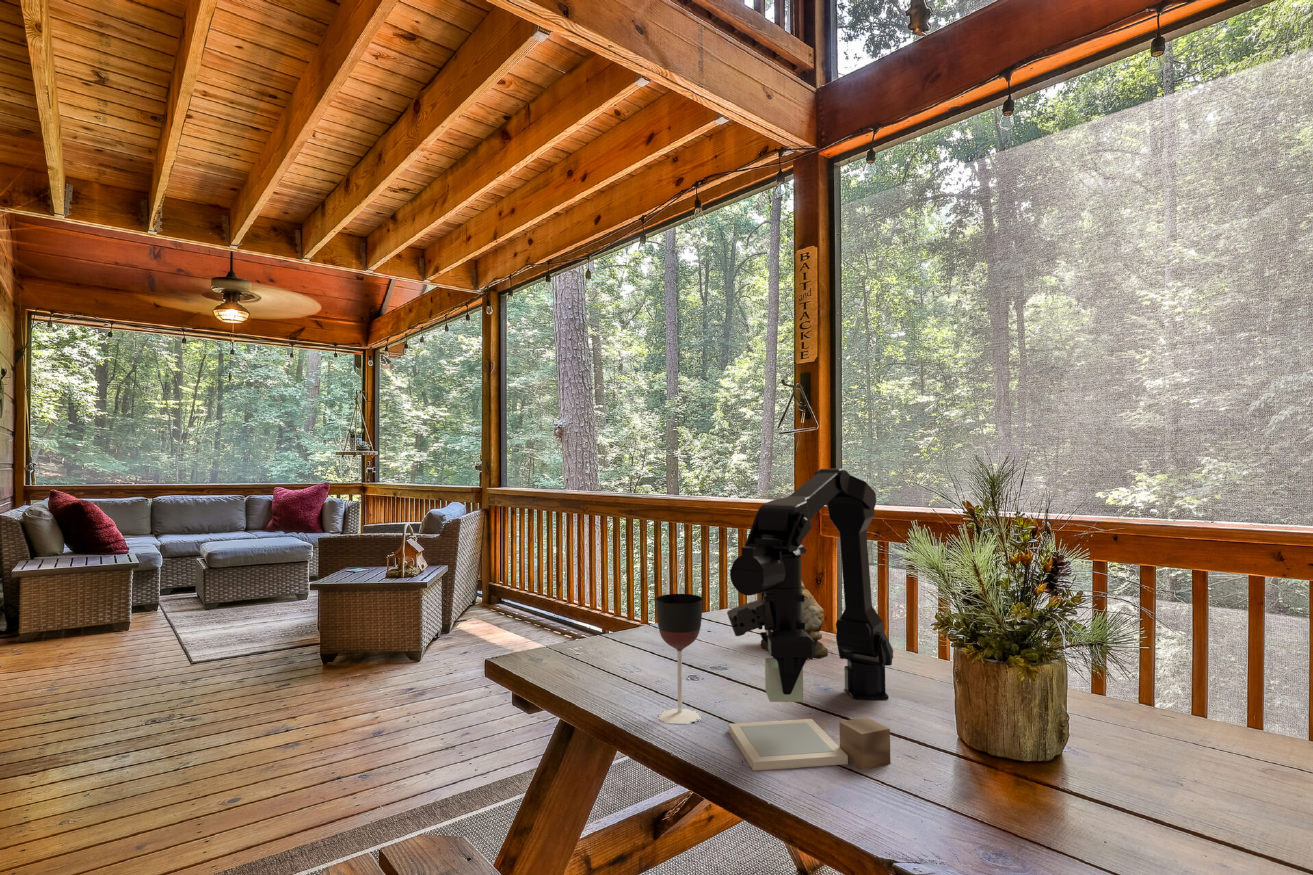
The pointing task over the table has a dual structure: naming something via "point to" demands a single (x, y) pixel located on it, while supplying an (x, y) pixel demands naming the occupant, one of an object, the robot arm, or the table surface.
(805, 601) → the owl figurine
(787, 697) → the sage cube
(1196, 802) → the table surface
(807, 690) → the table surface
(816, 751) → the tray
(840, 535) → the robot arm
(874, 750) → the walnut cube
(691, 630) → the wineglass
